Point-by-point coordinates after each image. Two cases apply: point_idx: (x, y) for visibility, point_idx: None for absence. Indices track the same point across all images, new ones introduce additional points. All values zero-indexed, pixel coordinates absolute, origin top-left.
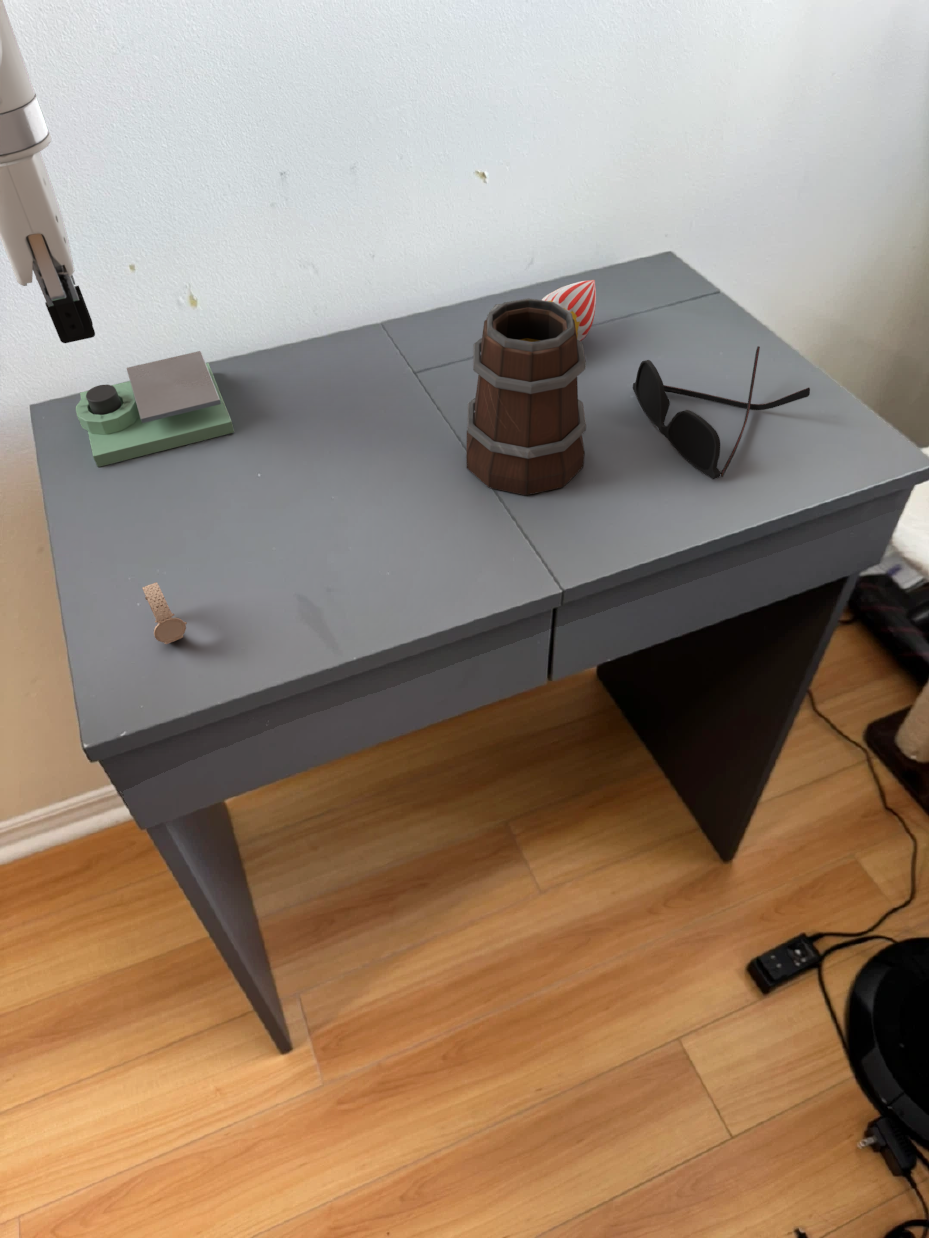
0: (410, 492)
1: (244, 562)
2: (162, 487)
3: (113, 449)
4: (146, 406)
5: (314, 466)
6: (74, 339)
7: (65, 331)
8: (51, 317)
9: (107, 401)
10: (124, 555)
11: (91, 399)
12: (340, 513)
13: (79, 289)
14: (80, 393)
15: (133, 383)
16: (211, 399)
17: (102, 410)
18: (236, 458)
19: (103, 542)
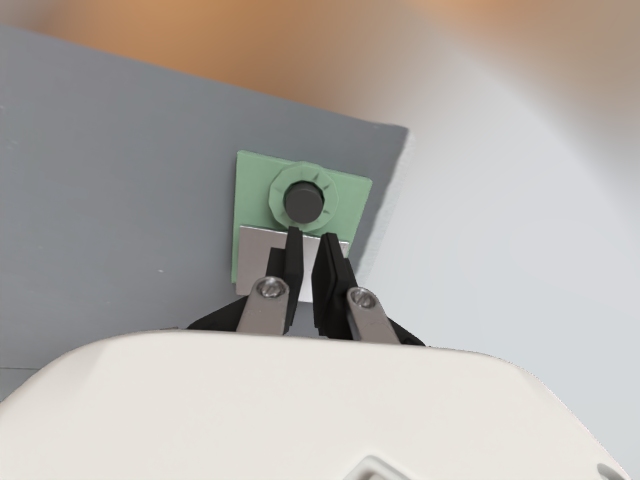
0: (99, 339)
1: (20, 220)
2: (174, 196)
3: (239, 177)
4: (260, 238)
5: (157, 304)
6: (285, 245)
7: (271, 250)
8: (287, 253)
9: (285, 207)
10: (52, 117)
11: (296, 193)
12: (83, 299)
13: (319, 332)
14: (370, 182)
15: (314, 240)
16: (239, 289)
17: (287, 195)
18: (194, 264)
19: (85, 103)
